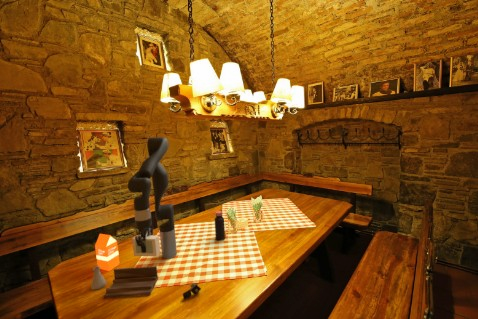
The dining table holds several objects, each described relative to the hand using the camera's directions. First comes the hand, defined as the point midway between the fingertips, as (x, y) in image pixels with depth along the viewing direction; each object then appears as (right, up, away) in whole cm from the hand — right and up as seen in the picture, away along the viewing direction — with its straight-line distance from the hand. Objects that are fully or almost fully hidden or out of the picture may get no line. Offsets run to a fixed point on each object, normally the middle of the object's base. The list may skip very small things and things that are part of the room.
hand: (146, 249), depth 115 cm
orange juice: (-31, -19, +22) cm, 42 cm away
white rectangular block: (0, -2, 0) cm, 2 cm away
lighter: (+25, -20, -7) cm, 32 cm away
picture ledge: (-7, -20, +1) cm, 21 cm away
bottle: (+33, -12, +50) cm, 61 cm away
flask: (-27, -21, +4) cm, 34 cm away
